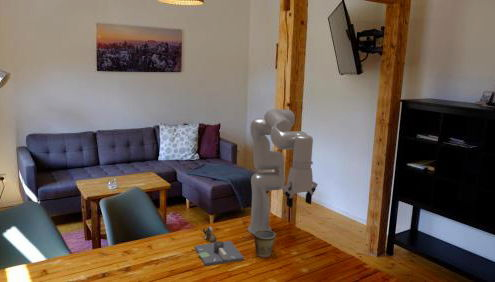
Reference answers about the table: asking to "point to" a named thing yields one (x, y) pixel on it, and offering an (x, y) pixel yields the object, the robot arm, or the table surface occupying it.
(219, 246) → the peg
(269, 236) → the ceramic cup
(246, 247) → the table surface
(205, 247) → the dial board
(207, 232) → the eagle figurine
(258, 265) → the table surface
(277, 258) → the table surface
